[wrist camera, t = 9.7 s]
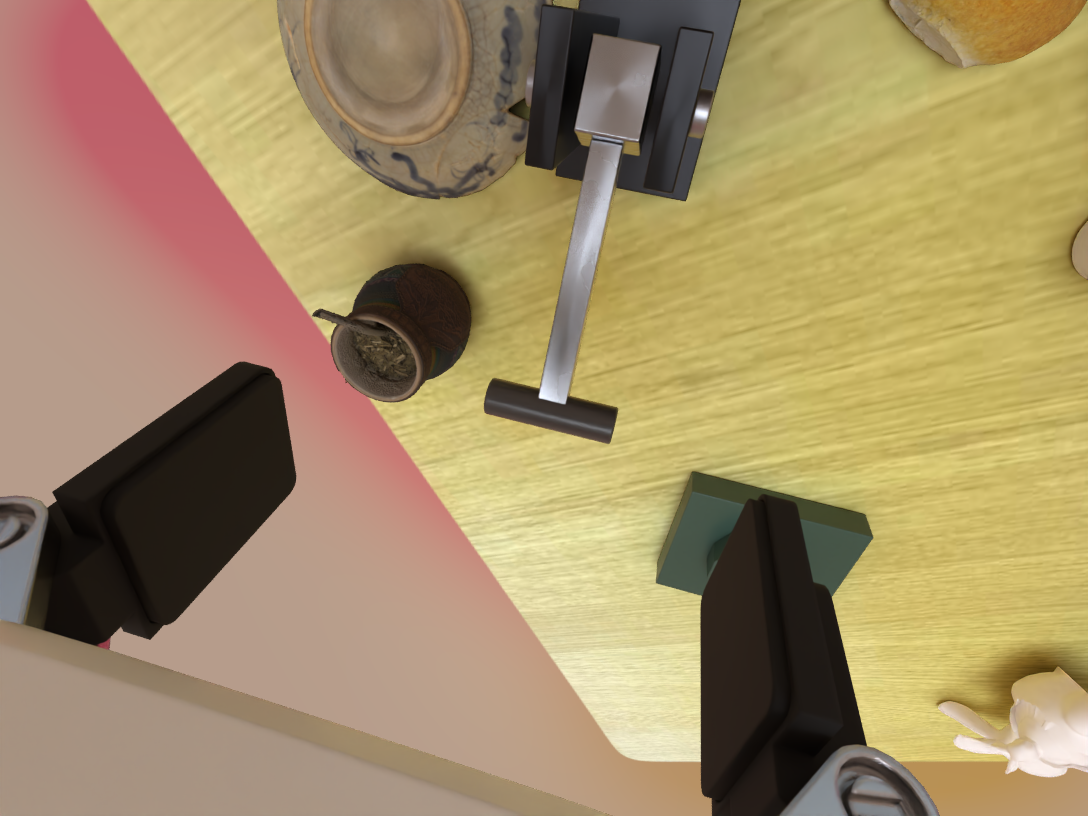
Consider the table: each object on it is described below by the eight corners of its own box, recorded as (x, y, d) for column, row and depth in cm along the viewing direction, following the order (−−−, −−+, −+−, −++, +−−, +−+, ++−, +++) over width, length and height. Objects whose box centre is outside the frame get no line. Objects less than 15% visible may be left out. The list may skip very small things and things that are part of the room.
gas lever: (611, 434, 23) (608, 453, 20) (493, 405, 23) (477, 421, 21) (701, 76, 19) (709, 51, 17) (558, 51, 19) (547, 24, 17)
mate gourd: (424, 368, 40) (355, 453, 32) (356, 278, 37) (261, 346, 29) (503, 328, 37) (449, 411, 29) (435, 225, 34) (353, 285, 26)
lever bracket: (686, 196, 30) (680, 282, 19) (559, 171, 31) (488, 241, 20) (750, -41, 24) (790, -98, 14) (592, -65, 25) (517, -135, 14)
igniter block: (657, 561, 45) (654, 602, 42) (692, 471, 40) (691, 509, 36) (807, 602, 44) (815, 647, 41) (865, 514, 38) (881, 558, 35)
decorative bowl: (250, -152, 26) (312, 186, 34) (192, -178, 23) (275, 200, 31) (566, -157, 24) (551, 208, 32) (548, -186, 21) (536, 225, 29)
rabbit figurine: (1133, 732, 42) (1020, 797, 45) (1035, 641, 47) (938, 705, 50) (1156, 754, 34) (1014, 833, 36) (1033, 640, 39) (916, 717, 41)
